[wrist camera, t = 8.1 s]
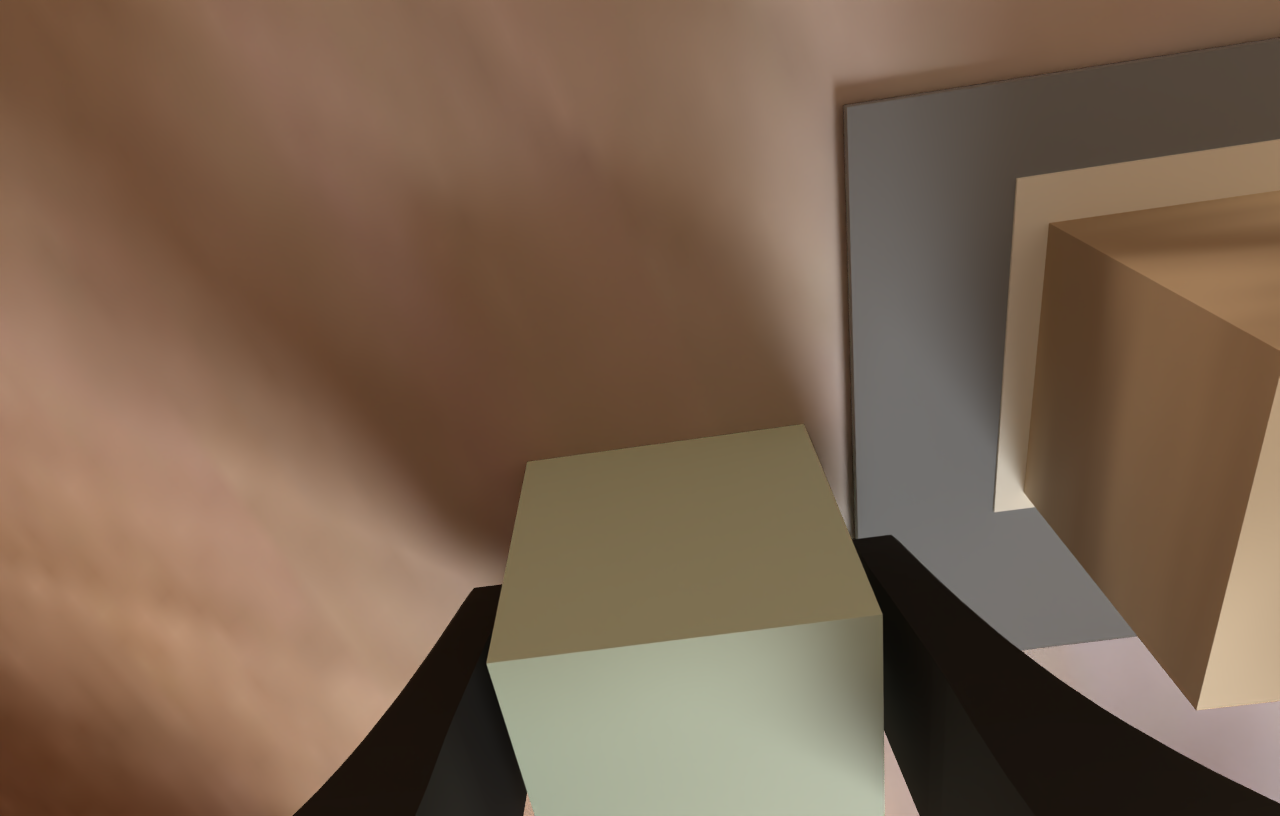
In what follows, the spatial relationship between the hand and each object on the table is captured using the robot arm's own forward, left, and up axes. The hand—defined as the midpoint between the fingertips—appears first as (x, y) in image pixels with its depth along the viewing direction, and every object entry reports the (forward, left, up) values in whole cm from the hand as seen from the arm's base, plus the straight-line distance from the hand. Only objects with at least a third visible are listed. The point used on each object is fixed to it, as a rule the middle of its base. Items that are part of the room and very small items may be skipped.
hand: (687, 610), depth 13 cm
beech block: (+8, +3, -1) cm, 9 cm away
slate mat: (+8, +2, -1) cm, 8 cm away
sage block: (0, 0, -2) cm, 2 cm away
